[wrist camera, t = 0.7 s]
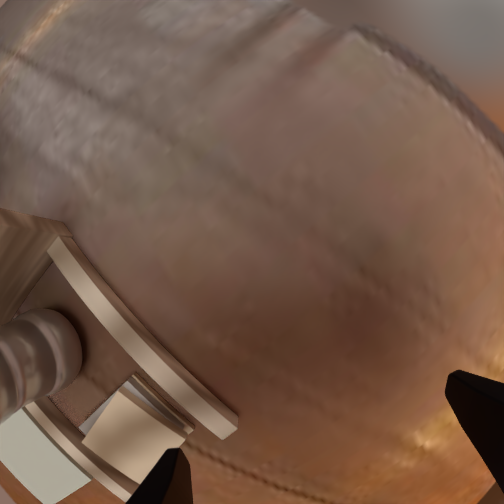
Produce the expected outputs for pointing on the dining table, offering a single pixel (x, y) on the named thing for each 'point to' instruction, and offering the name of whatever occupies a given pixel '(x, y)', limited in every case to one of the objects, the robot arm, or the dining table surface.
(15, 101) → the dining table surface
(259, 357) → the dining table surface
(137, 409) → the offcut stack
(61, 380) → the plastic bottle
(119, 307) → the birch rack
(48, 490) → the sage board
